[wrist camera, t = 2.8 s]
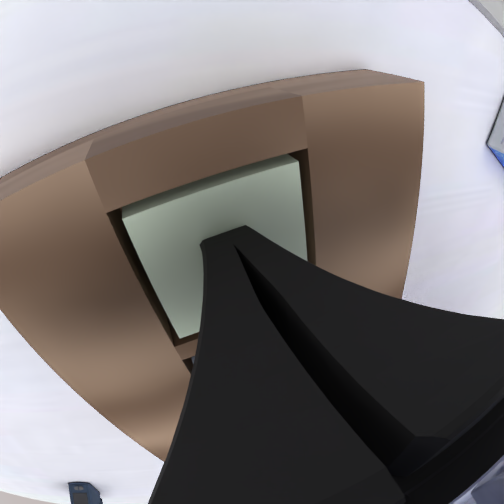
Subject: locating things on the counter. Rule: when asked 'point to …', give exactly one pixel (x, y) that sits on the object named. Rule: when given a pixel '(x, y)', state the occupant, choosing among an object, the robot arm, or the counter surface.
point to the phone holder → (492, 12)
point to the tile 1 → (212, 227)
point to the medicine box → (498, 136)
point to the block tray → (182, 172)
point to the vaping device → (84, 494)
